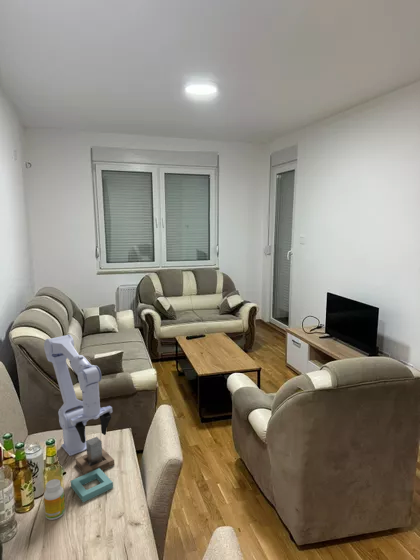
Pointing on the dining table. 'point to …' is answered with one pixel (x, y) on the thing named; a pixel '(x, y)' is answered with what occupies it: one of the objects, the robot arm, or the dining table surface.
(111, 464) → the socket block
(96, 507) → the dining table surface
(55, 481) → the supplement bottle
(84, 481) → the teal square frame
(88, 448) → the peg
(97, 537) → the dining table surface
